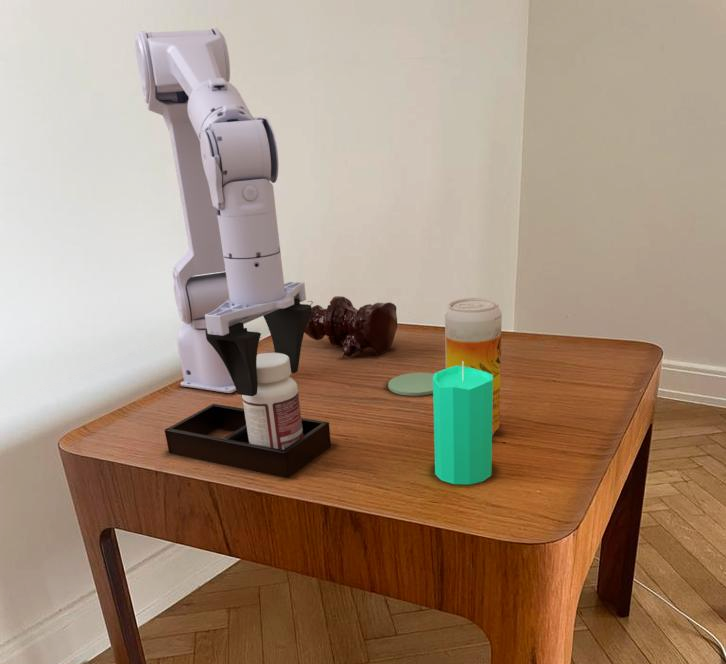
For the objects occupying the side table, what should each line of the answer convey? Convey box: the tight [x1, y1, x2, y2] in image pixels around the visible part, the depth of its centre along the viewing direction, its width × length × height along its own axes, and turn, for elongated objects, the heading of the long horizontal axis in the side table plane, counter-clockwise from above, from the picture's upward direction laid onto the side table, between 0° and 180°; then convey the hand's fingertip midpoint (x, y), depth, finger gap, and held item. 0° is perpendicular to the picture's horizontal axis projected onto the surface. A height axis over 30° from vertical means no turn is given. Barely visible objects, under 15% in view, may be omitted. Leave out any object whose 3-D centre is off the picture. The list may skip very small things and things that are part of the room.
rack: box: [164, 403, 332, 479], centre depth 86 cm, size 17×9×3 cm, turn 61°
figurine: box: [304, 295, 398, 359], centre depth 118 cm, size 10×10×18 cm
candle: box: [432, 361, 493, 485], centre depth 75 cm, size 6×6×12 cm
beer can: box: [444, 297, 503, 436], centre depth 84 cm, size 6×6×15 cm
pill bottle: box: [241, 352, 303, 450], centre depth 82 cm, size 6×6×11 cm
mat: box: [387, 372, 434, 397], centre depth 102 cm, size 8×8×1 cm
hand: (268, 382), depth 81 cm, fingers open, 7 cm apart
